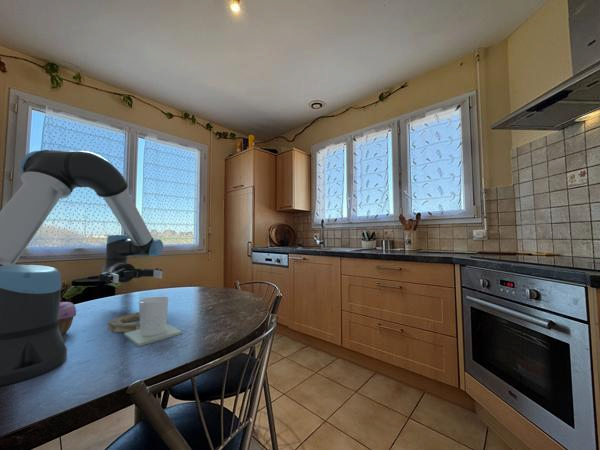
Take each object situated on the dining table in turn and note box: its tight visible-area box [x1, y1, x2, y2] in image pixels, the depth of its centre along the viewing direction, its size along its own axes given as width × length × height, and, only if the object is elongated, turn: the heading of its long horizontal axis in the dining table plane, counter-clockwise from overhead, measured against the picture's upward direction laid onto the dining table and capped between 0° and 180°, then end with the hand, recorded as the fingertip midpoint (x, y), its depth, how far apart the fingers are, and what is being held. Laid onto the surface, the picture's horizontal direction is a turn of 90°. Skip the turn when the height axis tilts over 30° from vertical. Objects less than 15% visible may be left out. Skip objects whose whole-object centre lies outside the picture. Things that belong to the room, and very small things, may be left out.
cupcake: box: [59, 301, 77, 335], centre depth 77 cm, size 9×9×10 cm
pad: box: [123, 322, 182, 348], centre depth 77 cm, size 12×12×1 cm
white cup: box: [138, 296, 169, 336], centre depth 77 cm, size 8×8×10 cm
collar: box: [107, 311, 140, 333], centre depth 87 cm, size 15×15×2 cm
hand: (140, 276), depth 87 cm, fingers open, 13 cm apart
